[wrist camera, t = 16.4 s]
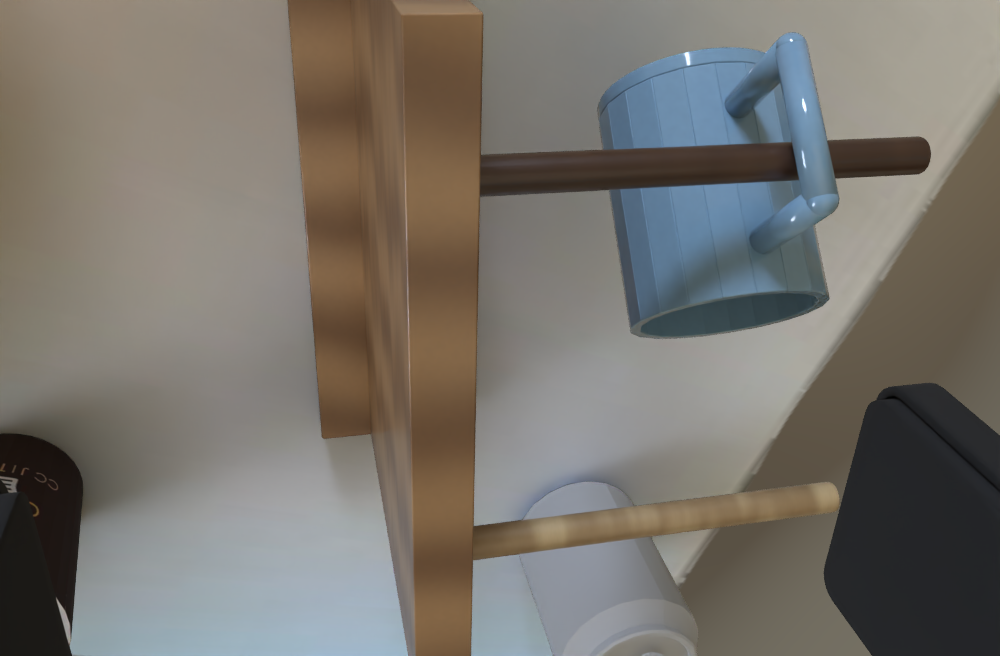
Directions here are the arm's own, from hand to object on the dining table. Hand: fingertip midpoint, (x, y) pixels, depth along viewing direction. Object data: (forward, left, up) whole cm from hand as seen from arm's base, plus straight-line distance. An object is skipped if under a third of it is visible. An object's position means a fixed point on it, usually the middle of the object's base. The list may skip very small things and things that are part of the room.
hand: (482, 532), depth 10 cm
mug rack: (+9, +8, -33) cm, 35 cm away
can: (+30, +13, -34) cm, 47 cm away
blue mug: (+1, +13, -24) cm, 28 cm away
